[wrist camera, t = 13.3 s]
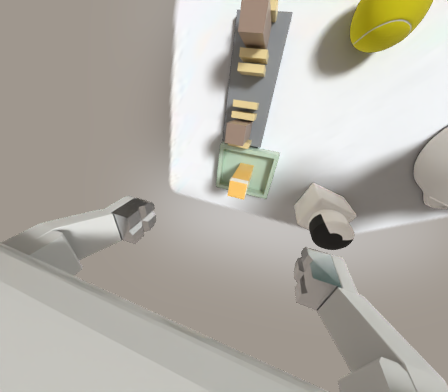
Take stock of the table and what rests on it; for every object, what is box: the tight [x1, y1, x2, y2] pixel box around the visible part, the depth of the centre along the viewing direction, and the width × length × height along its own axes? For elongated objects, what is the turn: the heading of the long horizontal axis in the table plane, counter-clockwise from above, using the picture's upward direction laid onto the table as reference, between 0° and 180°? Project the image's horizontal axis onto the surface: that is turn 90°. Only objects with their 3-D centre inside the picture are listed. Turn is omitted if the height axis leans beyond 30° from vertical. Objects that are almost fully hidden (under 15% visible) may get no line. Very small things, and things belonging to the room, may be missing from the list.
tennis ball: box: [350, 0, 433, 53], centre depth 19 cm, size 7×7×7 cm
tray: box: [216, 142, 280, 199], centre depth 35 cm, size 12×10×3 cm
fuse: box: [228, 163, 254, 199], centre depth 32 cm, size 3×3×10 cm
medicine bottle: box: [294, 183, 357, 250], centre depth 31 cm, size 7×7×12 cm
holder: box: [223, 0, 292, 149], centre depth 25 cm, size 19×8×9 cm, turn 173°
